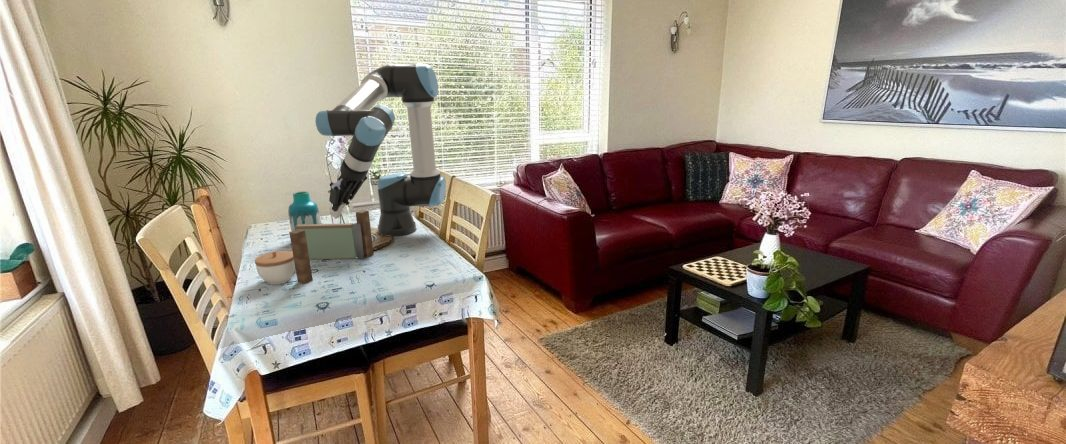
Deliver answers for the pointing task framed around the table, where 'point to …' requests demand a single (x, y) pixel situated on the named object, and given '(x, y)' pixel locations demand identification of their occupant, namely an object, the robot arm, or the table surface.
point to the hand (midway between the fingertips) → (334, 215)
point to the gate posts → (302, 249)
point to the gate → (333, 240)
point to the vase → (303, 210)
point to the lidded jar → (276, 266)
